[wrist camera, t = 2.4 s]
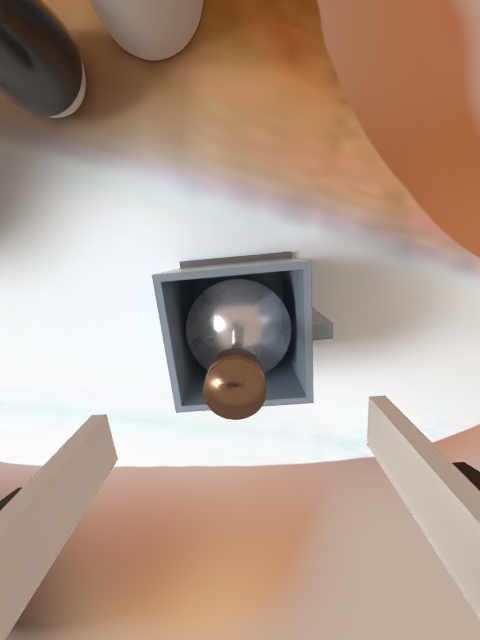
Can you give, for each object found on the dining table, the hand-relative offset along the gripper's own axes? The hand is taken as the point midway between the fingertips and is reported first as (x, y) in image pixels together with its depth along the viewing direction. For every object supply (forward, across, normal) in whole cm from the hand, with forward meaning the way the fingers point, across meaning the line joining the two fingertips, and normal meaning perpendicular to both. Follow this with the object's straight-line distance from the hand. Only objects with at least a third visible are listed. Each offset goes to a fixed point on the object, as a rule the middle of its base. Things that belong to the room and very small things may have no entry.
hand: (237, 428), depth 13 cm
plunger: (+16, 0, 0) cm, 17 cm away
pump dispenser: (+27, -20, +31) cm, 46 cm away
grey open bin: (+27, 0, 0) cm, 27 cm away
